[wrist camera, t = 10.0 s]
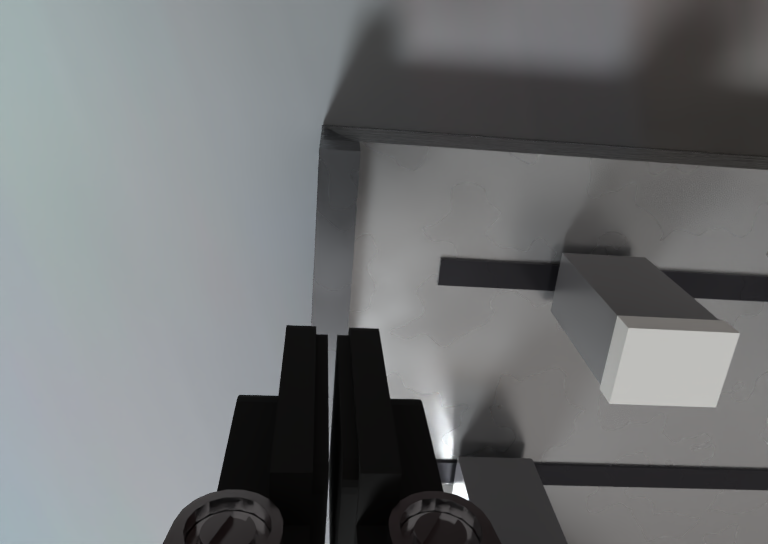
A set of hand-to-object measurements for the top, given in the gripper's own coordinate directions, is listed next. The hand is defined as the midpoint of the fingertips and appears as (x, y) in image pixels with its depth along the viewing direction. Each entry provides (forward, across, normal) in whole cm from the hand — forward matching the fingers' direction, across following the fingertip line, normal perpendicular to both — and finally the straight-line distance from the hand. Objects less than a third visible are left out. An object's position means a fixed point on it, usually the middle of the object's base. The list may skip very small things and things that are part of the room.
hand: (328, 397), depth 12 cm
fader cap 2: (+6, -8, 0) cm, 10 cm away
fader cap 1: (+6, -6, +7) cm, 11 cm away
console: (+8, -13, +4) cm, 16 cm away
